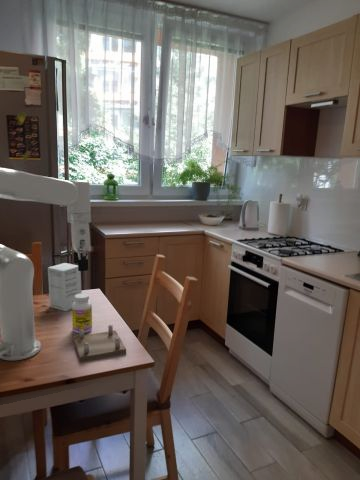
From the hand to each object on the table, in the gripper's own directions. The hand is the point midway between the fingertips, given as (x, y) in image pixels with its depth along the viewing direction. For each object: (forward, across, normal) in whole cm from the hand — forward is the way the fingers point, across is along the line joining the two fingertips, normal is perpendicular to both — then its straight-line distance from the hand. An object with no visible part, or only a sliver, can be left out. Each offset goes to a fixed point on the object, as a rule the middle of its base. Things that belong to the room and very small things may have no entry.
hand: (80, 266), depth 126 cm
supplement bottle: (+23, -1, 0) cm, 23 cm away
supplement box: (+23, +24, +3) cm, 34 cm away
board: (+23, -15, -3) cm, 28 cm away
